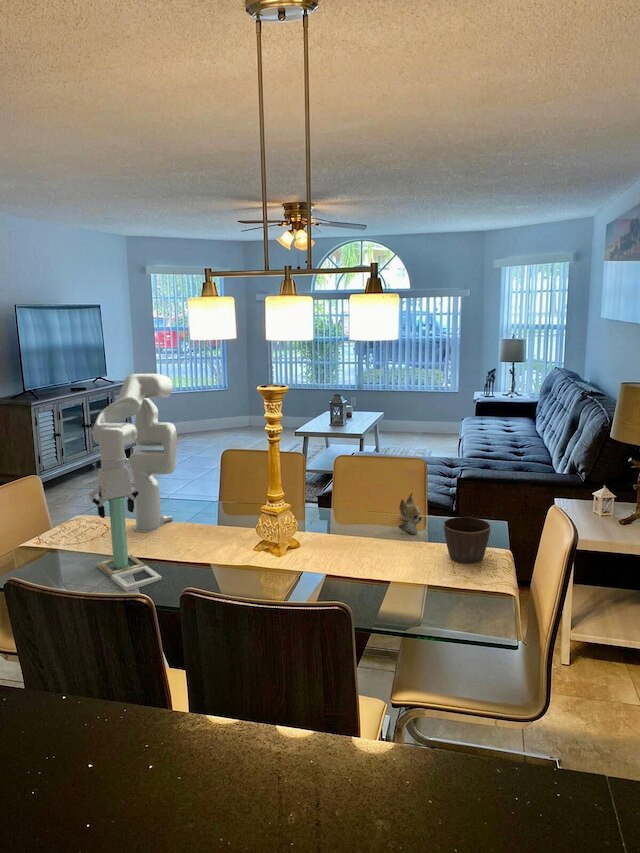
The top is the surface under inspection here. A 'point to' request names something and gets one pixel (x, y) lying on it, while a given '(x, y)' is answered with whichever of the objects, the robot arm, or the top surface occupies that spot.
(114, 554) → the container
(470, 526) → the plant pot
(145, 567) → the stand
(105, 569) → the stand
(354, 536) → the top surface
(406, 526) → the ceramic sculpture
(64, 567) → the top surface
